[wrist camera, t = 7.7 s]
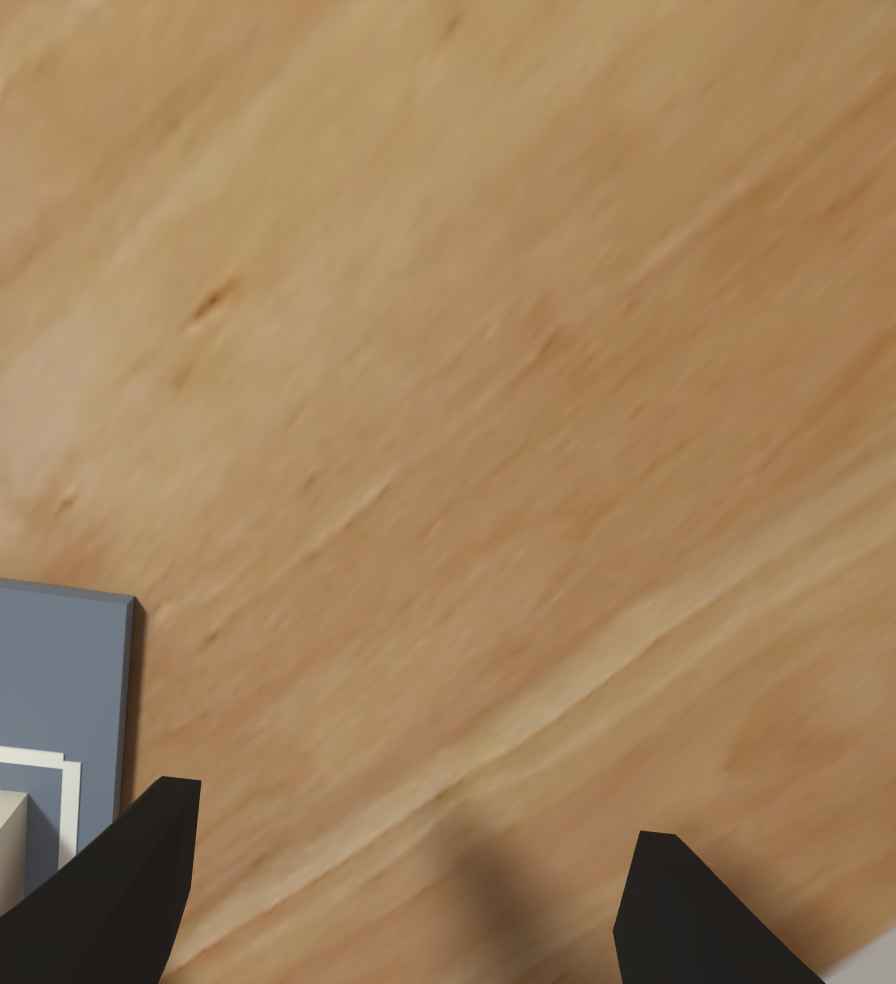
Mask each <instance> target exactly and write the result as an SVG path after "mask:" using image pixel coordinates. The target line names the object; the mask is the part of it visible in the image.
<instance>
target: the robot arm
mask: <svg viewBox="0 0 896 984" xmlns="http://www.w3.org/2000/svg"><path fill="white" fill-rule="evenodd" d="M200 790H201V780H192V779H183V778H174V777H166V776H162V777H160V778H159V779H158V780H156V781H155V782H154V783H153V784H152V785H151V786H150V787H149V788H148V789H147V790H146V791H145V792H144V793H143V794H142V795H141V796H140V797H138V798H137V799H136V800H135V801H134V802H133V803H132V804H131V805H130V806H129V807H128V808H127V809H126V810H125V811H124V812H123V813H122V814H121V815H120V816H119V817H118V818H117V819H116V820H115V821H114V822H112V823H111V824H110V825H109V826H108V827H107V828H106V829H105V830H104V831H103V832H102V833H101V834H99V835H98V836H97V837H96V838H95V839H94V840H93V841H92V842H90V843H89V844H88V845H87V846H86V847H85V848H84V849H83V850H81V851H80V852H79V853H78V854H77V855H76V856H75V857H74V858H72V859H71V860H70V861H69V862H68V863H67V864H66V865H64V866H63V867H62V868H61V869H60V870H58V871H57V872H56V873H55V874H54V875H52V876H51V877H50V878H49V879H47V880H46V881H45V882H44V883H42V884H41V885H40V886H39V887H37V888H36V889H35V890H34V891H32V892H31V893H30V894H29V895H27V896H26V897H25V898H24V899H22V900H21V901H20V902H19V903H17V904H16V905H15V906H14V907H12V908H11V909H10V910H8V911H7V912H6V913H4V914H3V915H2V916H0V984H158V982H159V980H160V978H161V975H162V973H163V971H164V968H165V966H166V963H167V961H168V959H169V956H170V953H171V950H172V947H173V944H174V941H175V938H176V934H177V931H178V928H179V925H180V922H181V918H182V915H183V912H184V908H185V905H186V902H187V899H188V895H189V892H190V889H191V880H192V870H193V860H194V850H195V840H196V830H197V820H198V810H199V800H200ZM613 934H614V940H615V945H616V951H617V956H618V962H619V968H620V972H621V977H622V982H623V984H825V983H824V982H823V981H822V980H821V979H820V978H819V977H818V976H817V975H816V974H815V973H814V972H813V971H811V970H810V969H809V968H808V967H807V966H806V965H805V964H804V963H803V962H802V961H801V960H800V959H798V958H797V957H796V956H795V955H794V954H793V953H792V952H791V951H790V950H789V949H788V948H787V947H786V946H785V945H784V944H783V943H782V942H781V941H780V940H779V939H778V938H777V937H776V936H775V935H774V934H773V933H772V932H771V931H770V930H769V929H768V928H767V927H766V926H765V925H764V924H763V923H762V922H761V921H760V920H759V919H758V918H757V917H756V916H755V915H754V914H753V913H752V912H751V911H750V910H749V909H748V908H747V907H746V906H745V905H744V904H743V903H742V902H741V901H740V900H739V899H738V898H737V897H736V896H735V895H734V894H733V893H732V892H731V891H730V889H729V888H728V887H727V886H726V885H725V884H724V883H723V882H722V881H721V880H720V879H719V878H718V877H717V876H716V875H715V874H714V873H713V872H712V871H711V870H710V869H709V868H708V867H707V866H706V864H705V863H704V862H703V861H702V860H701V859H700V858H699V857H698V856H697V855H696V854H695V853H694V852H693V851H692V850H691V849H690V848H689V847H688V846H687V845H686V844H685V843H684V842H683V841H682V840H681V839H680V838H679V837H677V836H676V835H675V834H666V833H657V832H649V831H640V833H639V837H638V840H637V844H636V848H635V851H634V855H633V859H632V862H631V866H630V870H629V874H628V877H627V881H626V885H625V888H624V892H623V896H622V899H621V903H620V907H619V910H618V914H617V918H616V922H615V925H614V929H613Z"/></svg>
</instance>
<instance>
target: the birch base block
mask: <svg viewBox="0 0 896 984" xmlns="http://www.w3.org/2000/svg"><path fill="white" fill-rule="evenodd" d="M27 802H28V793H24V792H14V791H5V790H0V916H2V915H3V914H4V913H6V912H7V911H8V910H10V909H11V908H12V907H14V906H15V905H16V904H17V903H19V902H20V901H21V900H22V899H24V888H25V859H26V831H27Z"/></svg>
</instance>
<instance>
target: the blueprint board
mask: <svg viewBox="0 0 896 984" xmlns="http://www.w3.org/2000/svg"><path fill="white" fill-rule="evenodd" d="M133 610H134V596H129V595H121V594H114V593H106V592H99V591H91V590H84V589H76V588H69V587H61V586H54V585H47V584H39V583H32V582H24V581H17V580H9V579H2V578H0V790H5V791H14V792H24V793H28V802H27V831H26V859H25V888H24V898H25V897H26V896H27V895H29V894H30V893H31V892H32V891H34V890H35V889H36V888H37V887H39V886H40V885H41V884H42V883H44V882H45V881H46V880H47V879H49V878H50V877H51V876H52V875H54V874H55V873H56V872H57V871H58V870H60V869H61V868H62V867H63V866H64V865H66V864H67V863H68V862H69V861H70V860H71V859H72V858H74V857H75V856H76V855H77V854H78V853H79V852H80V851H81V850H83V849H84V848H85V847H86V846H87V845H88V844H89V843H90V842H92V841H93V840H94V839H95V838H96V837H97V836H98V835H99V834H101V833H102V832H103V831H104V830H105V829H106V828H107V827H108V826H109V825H110V824H111V823H112V822H114V821H115V820H116V819H117V818H118V817H119V809H120V795H121V780H122V766H123V752H124V738H125V724H126V709H127V695H128V681H129V667H130V652H131V638H132V624H133Z"/></svg>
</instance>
